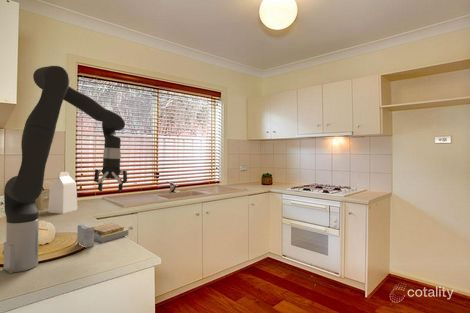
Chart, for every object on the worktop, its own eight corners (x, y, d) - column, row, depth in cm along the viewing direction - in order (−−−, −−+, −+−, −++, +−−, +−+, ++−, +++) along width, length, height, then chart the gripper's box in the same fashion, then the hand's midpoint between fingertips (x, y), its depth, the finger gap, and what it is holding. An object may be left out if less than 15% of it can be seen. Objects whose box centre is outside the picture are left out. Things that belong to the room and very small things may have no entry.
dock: (102, 242, 124) (102, 236, 124) (85, 236, 132) (85, 230, 132) (128, 234, 136) (128, 229, 136) (111, 229, 144) (112, 224, 144)
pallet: (103, 235, 126) (103, 232, 126) (90, 231, 132) (90, 227, 132) (124, 230, 136) (124, 226, 136) (111, 226, 142) (111, 222, 141)
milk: (63, 213, 173) (63, 173, 172) (48, 212, 175) (48, 172, 174) (77, 209, 184) (78, 172, 184) (63, 208, 187) (63, 171, 186)
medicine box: (94, 246, 120) (94, 226, 120) (83, 248, 117) (83, 229, 116) (87, 241, 125) (87, 223, 125) (77, 243, 122) (77, 225, 122)
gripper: (93, 156, 123) (91, 192, 123) (125, 158, 125) (124, 193, 126) (98, 156, 131) (97, 189, 131) (129, 158, 133) (127, 190, 133)
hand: (110, 191), depth 128 cm, fingers open, 8 cm apart
